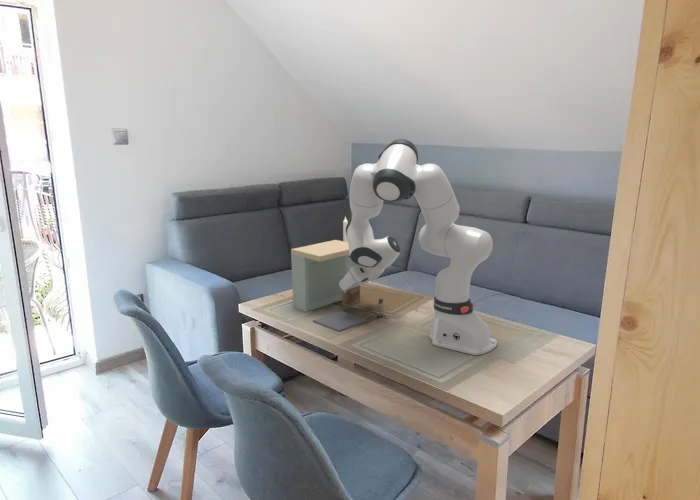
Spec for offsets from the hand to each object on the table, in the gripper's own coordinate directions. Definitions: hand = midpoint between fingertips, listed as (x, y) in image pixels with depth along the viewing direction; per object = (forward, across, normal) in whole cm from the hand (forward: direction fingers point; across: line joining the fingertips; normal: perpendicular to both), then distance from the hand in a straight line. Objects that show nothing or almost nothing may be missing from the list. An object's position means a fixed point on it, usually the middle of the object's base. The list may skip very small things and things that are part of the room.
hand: (349, 288), depth 195 cm
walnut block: (+4, 0, +5) cm, 6 cm away
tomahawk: (0, -9, +14) cm, 17 cm away
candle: (+22, -24, -9) cm, 34 cm away
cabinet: (+14, 0, -1) cm, 14 cm away
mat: (+3, +12, +9) cm, 16 cm away
